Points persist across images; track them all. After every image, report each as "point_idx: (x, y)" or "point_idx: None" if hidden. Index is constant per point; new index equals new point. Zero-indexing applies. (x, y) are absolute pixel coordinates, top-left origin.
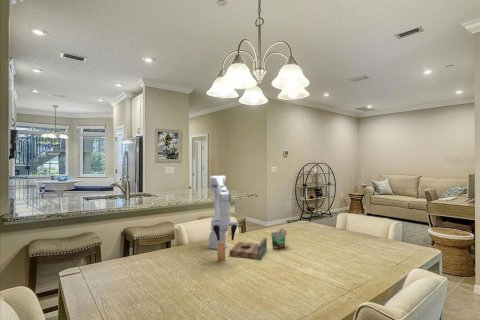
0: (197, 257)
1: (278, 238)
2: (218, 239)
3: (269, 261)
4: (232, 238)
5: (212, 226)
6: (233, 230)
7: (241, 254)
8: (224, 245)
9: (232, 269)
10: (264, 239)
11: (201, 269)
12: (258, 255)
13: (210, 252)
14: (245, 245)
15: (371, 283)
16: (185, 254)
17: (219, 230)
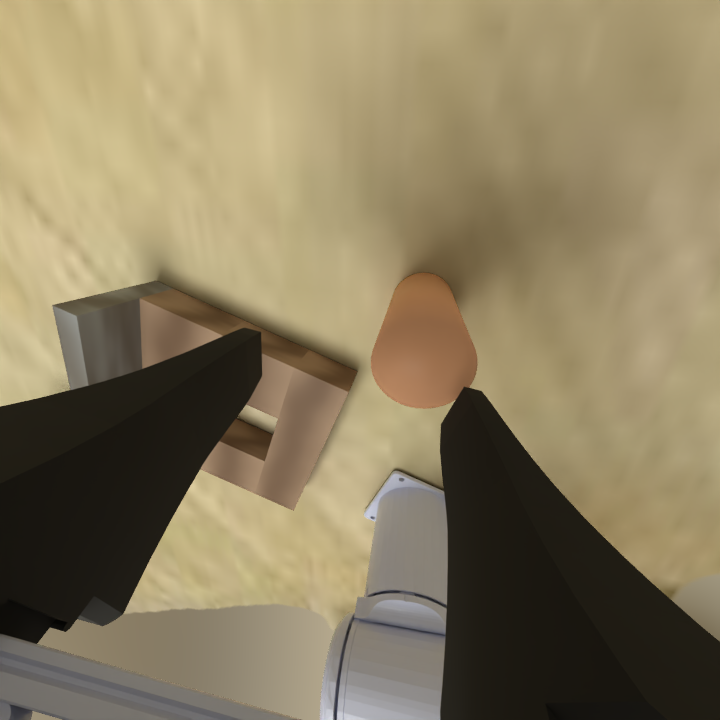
0: (612, 383)
1: None
2: (471, 397)
3: (94, 238)
4: (227, 337)
5: None
6: (22, 413)
7: (268, 343)
8: (382, 329)
9: (335, 52)
10: None
11: (679, 51)
12: (144, 291)
13: None
14: (246, 453)
15: None
16: (697, 455)
17: (447, 599)
